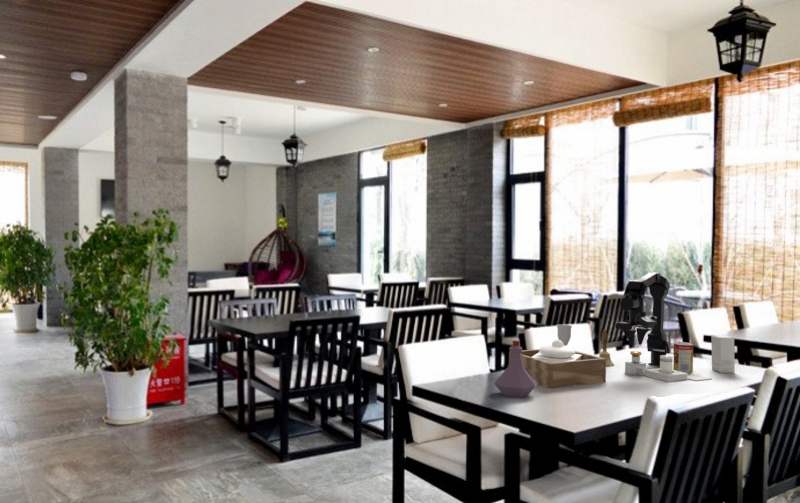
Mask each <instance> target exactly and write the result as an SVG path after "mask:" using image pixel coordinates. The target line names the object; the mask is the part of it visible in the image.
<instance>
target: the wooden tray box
mask: <svg viewBox="0 0 800 503" xmlns="http://www.w3.org/2000/svg"><path fill="white" fill-rule="evenodd" d="M539 349H540V348H538V349H537V348H536V349H527V350H526V349H524V350H523V349H522V351H521V359H522V363H523V367H524V368H525V370H526V371H527V372H528V374H529V375H530V376H531V377H532V378H533V379H534V380H535V381H536V382H537V384H536V385H539V386H543V387H546V388H548V389H554V388H563V387H572V386H580V385H581V386H582V385H583V386H584V385H589V384H601V383H606V380H607V366H606V359H605V358H601V357H599V356H596V355H594V354H588V353H584V352H581V351H577V350H575V352H576V353H575V354H580V355H582V357H581V360H577V361H566V362H555V363H550V362H546V361H543V360H539V359H536V358H533V357H532V356H534V355H535V354H537V353H539ZM510 357H511V351H510V350H509V351H508V362H509V361H510Z"/></svg>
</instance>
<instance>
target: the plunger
mask: <svg viewBox="0 0 800 503" xmlns="http://www.w3.org/2000/svg"><path fill="white" fill-rule="evenodd" d="M629 353H630V355H631V361H632V363H635V364H637V363H640V362H641V356H642V352H641V351H639V350H638V351H637V350H633V351H632V350H631V351H630V352H629Z"/></svg>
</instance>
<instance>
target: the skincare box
mask: <svg viewBox="0 0 800 503" xmlns="http://www.w3.org/2000/svg"><path fill="white" fill-rule="evenodd" d="M710 336H711V341H710V342H711V369H712V370H713V371H716V372H719V373H722V374H726V373H727V374H733V373H735V369H736V368H735V337H733V336H729V335H725V334H724V335H723V334H719V335H710Z"/></svg>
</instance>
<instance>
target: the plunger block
mask: <svg viewBox="0 0 800 503" xmlns="http://www.w3.org/2000/svg"><path fill="white" fill-rule="evenodd" d="M624 363H625V364H624V373H625V374H628V375H631V376H635V377H638V376H639V377H640V376H645V370H647V362H642V361H640V363H637V364H635V363H632V360H629V361H628V360H627V361H625V362H624Z"/></svg>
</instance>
